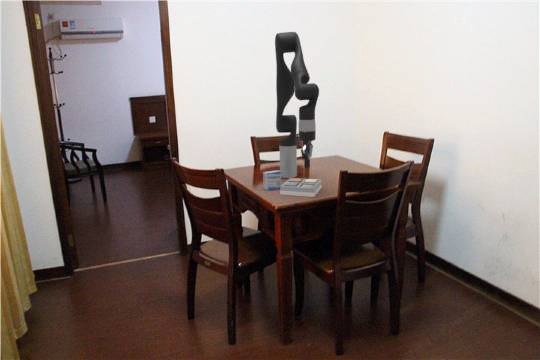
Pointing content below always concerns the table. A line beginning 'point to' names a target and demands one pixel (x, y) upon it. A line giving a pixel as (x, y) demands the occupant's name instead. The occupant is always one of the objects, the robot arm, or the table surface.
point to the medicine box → (272, 180)
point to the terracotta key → (296, 180)
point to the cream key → (311, 181)
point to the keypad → (301, 189)
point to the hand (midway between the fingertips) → (307, 167)
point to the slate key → (291, 184)
